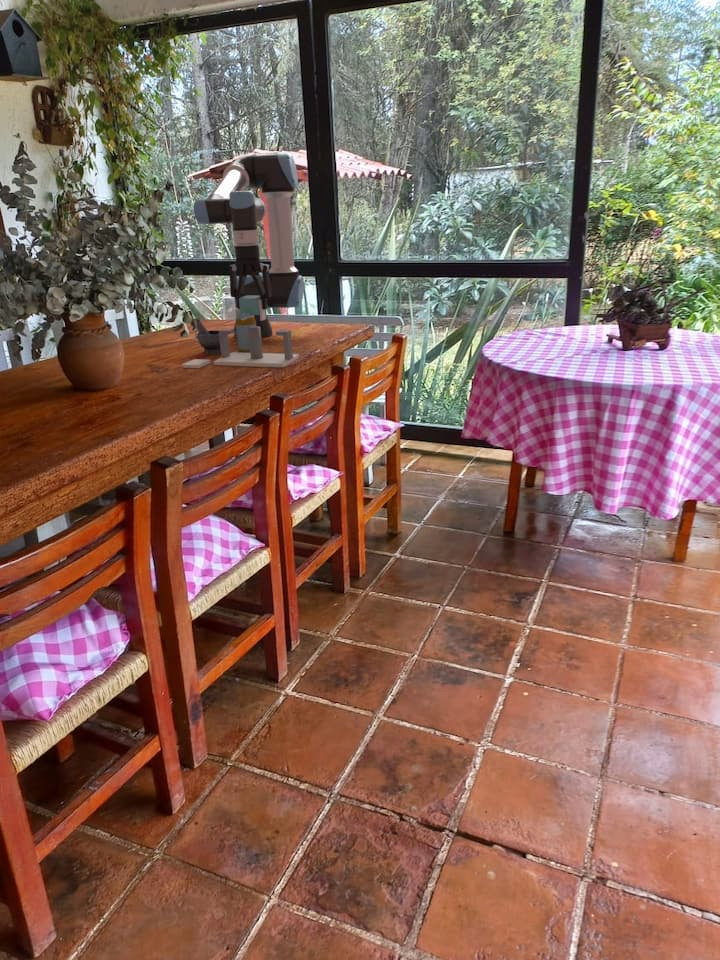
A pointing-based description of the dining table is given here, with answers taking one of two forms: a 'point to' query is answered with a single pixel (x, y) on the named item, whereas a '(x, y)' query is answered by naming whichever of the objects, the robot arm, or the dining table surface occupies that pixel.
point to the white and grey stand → (255, 350)
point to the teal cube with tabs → (249, 306)
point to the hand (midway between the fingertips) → (253, 319)
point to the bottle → (243, 332)
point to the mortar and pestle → (208, 339)
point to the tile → (196, 363)
